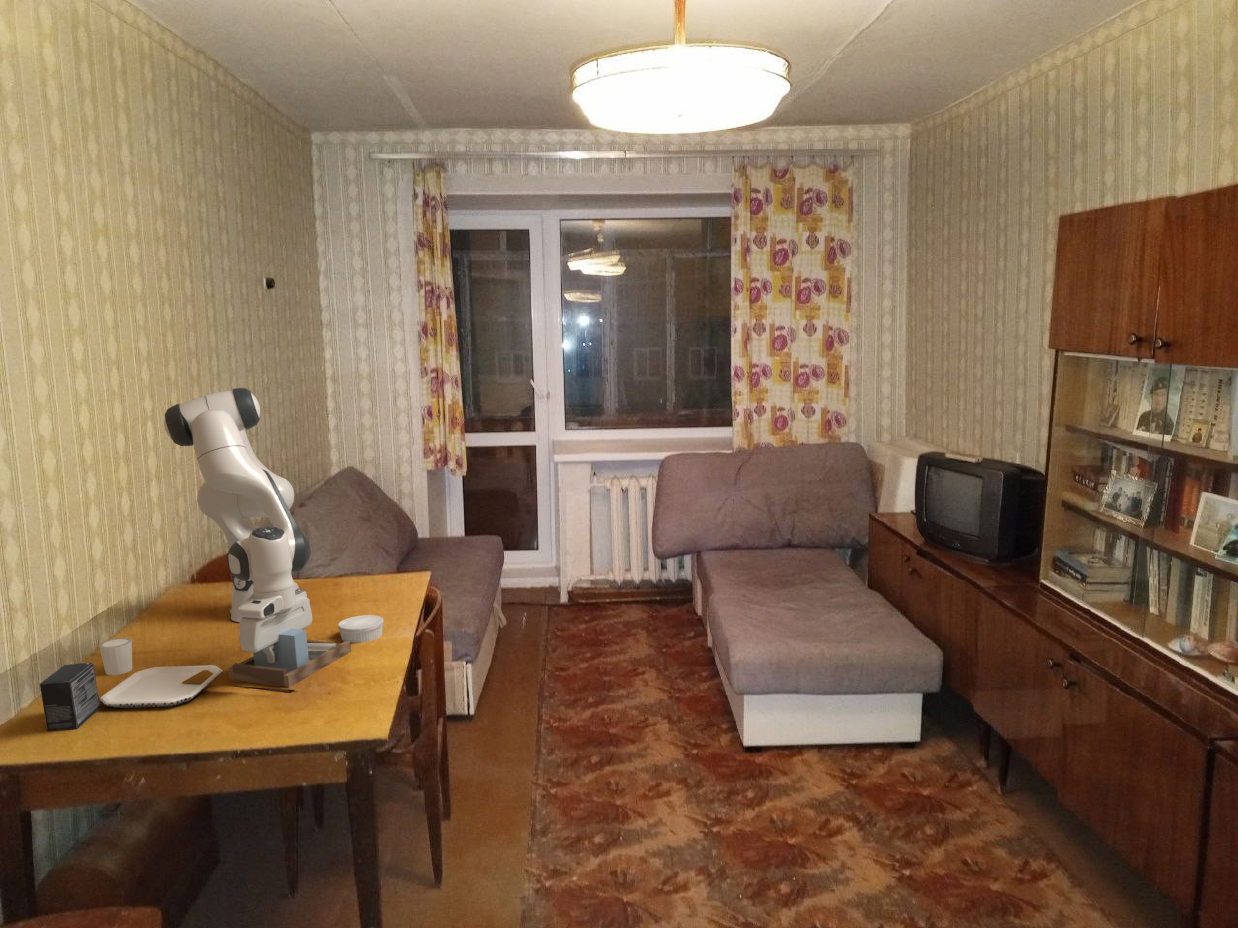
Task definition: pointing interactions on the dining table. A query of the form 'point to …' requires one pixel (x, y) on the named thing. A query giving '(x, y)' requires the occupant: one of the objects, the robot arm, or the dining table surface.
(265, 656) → the slate blue block
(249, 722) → the dining table surface
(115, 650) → the white cup
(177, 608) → the dining table surface
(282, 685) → the frame
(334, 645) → the offcut upper
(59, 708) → the small box
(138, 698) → the plate
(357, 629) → the ramekin
